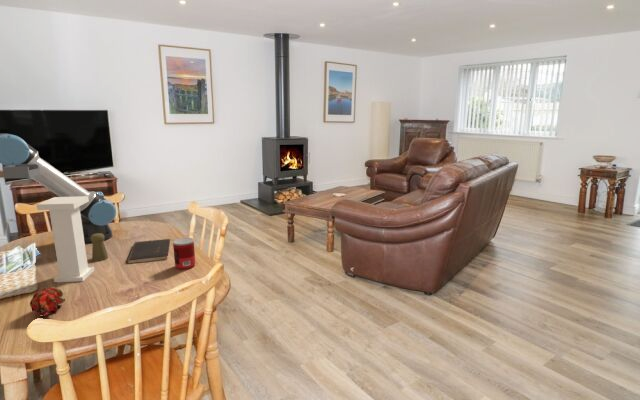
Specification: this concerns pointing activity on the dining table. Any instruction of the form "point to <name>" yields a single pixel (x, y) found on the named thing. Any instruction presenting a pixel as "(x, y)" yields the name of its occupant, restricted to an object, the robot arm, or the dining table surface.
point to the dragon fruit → (47, 301)
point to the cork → (98, 247)
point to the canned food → (184, 253)
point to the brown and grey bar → (20, 171)
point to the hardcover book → (149, 251)
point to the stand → (68, 237)
